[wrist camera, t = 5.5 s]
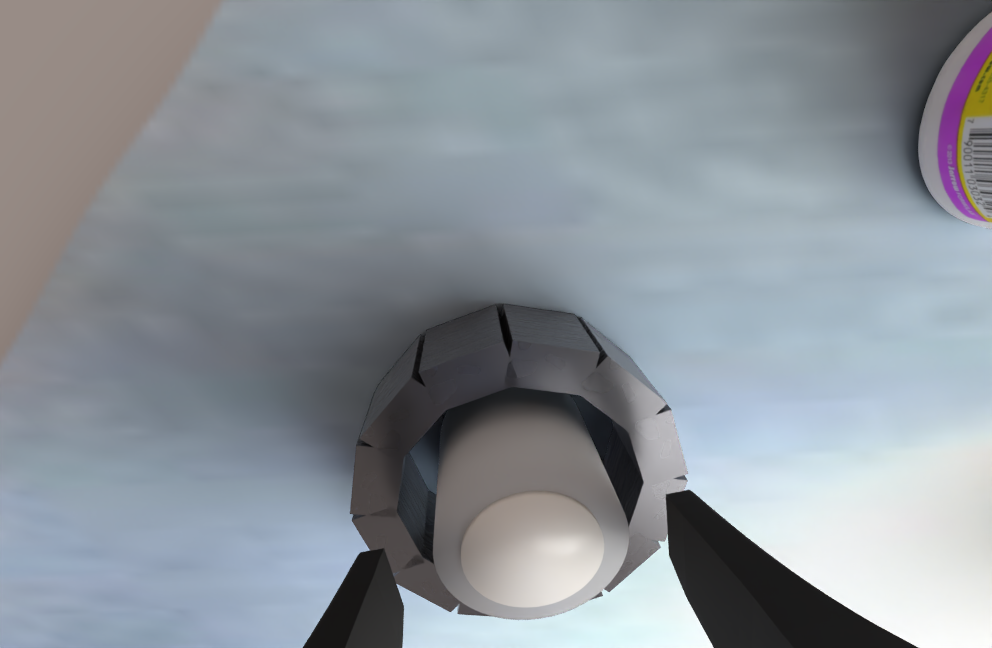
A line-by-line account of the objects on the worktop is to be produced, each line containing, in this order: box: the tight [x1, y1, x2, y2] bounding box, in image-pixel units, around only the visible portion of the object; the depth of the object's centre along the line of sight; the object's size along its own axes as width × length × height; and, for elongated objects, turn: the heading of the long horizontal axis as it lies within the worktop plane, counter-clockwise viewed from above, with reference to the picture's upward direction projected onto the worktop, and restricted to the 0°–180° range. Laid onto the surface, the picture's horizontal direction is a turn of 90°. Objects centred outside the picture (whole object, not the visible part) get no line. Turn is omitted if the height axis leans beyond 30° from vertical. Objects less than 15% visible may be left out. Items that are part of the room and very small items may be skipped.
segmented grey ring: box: [350, 304, 688, 616], centre depth 15 cm, size 10×10×3 cm
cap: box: [433, 387, 629, 620], centre depth 14 cm, size 5×5×5 cm
